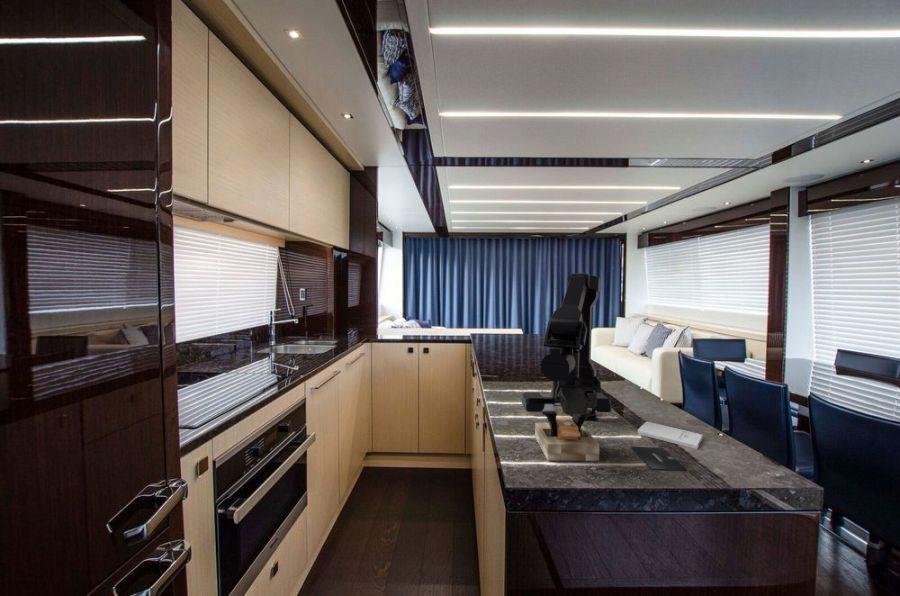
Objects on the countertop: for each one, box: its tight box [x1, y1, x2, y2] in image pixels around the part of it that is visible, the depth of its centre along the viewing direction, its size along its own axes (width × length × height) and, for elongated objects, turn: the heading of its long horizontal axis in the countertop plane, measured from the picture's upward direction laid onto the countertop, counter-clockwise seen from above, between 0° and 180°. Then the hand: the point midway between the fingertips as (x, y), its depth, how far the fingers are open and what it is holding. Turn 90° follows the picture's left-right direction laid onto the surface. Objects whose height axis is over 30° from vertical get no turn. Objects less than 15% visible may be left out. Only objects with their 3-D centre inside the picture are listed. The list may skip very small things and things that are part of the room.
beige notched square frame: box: [534, 422, 600, 462], centre depth 82 cm, size 11×12×4 cm
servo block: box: [556, 416, 580, 440], centre depth 82 cm, size 4×9×6 cm, turn 179°
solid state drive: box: [630, 446, 688, 472], centre depth 77 cm, size 7×10×1 cm
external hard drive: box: [637, 421, 704, 450], centre depth 89 cm, size 2×8×12 cm
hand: (564, 439), depth 82 cm, fingers closed on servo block, 4 cm apart
